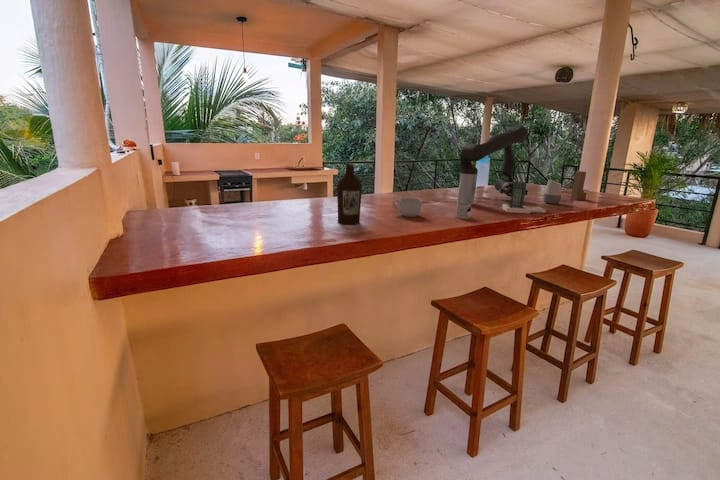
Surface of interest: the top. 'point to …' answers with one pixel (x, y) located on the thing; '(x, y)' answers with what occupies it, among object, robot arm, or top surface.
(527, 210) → the well rim
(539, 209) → the white rectangular plate
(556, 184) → the smart speaker
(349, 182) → the olive oil
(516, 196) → the can
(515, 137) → the robot arm
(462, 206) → the mug
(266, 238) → the top surface
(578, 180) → the wooden block
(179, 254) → the top surface
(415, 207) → the teacup
